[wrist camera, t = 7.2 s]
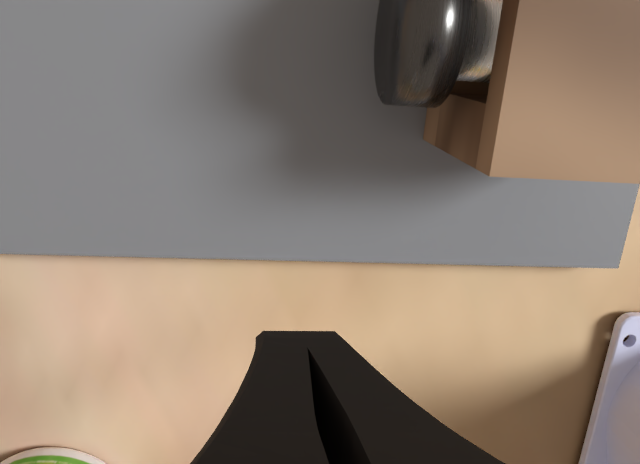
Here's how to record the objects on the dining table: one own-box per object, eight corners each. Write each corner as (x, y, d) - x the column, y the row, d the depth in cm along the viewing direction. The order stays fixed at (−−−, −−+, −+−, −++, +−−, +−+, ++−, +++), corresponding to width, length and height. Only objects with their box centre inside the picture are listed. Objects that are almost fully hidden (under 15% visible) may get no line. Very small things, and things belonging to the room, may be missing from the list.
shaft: (705, 119, 18) (815, 139, 14) (368, 97, 16) (403, 113, 13) (740, -7, 17) (868, -18, 13) (383, -46, 15) (426, -69, 12)
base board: (601, 258, 21) (618, 268, 20) (1, 242, 18) (-12, 253, 17) (712, -203, 17) (740, -217, 16) (-52, -329, 14) (-73, -356, 13)
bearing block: (575, 148, 18) (689, 186, 14) (422, 139, 18) (489, 176, 13) (621, -63, 17) (768, -100, 12) (452, -83, 16) (541, -130, 11)
